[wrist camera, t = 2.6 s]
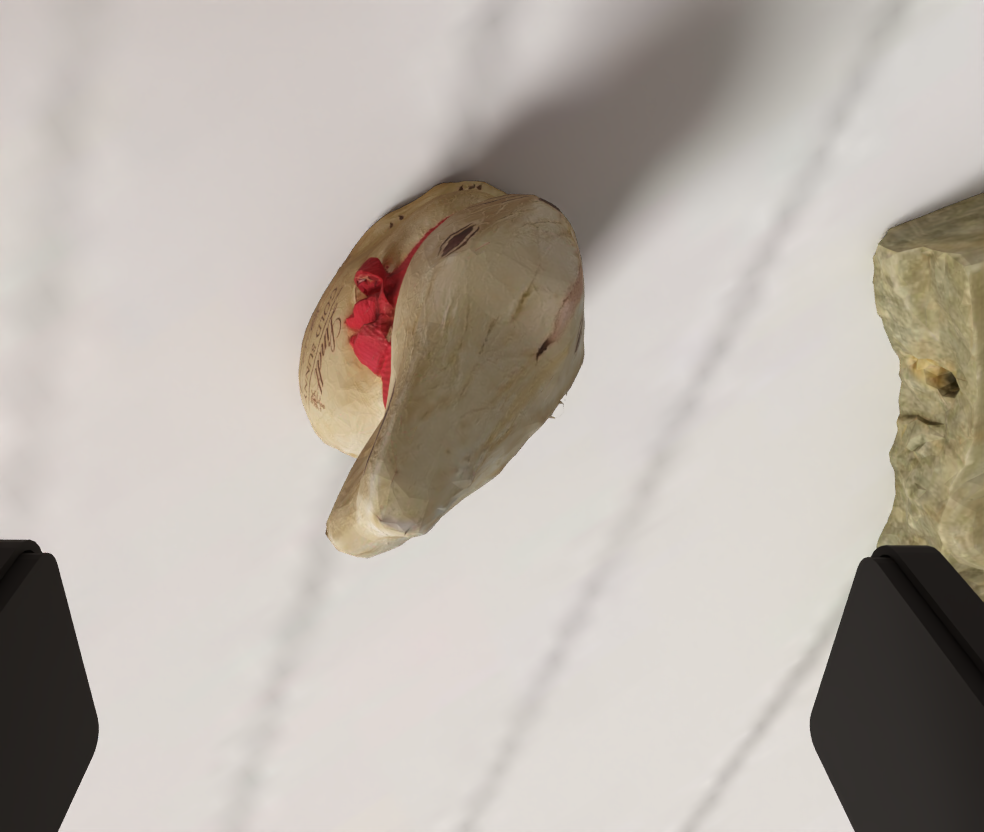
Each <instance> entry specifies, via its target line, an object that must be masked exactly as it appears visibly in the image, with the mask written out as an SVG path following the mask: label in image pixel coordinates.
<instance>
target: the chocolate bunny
mask: <svg viewBox="0 0 984 832" xmlns="http://www.w3.org/2000/svg"><path fill="white" fill-rule="evenodd" d="M584 327H585V321H584V277H583V269H582V261H581V255H580V251H579V248H578V244H577V240H576V236H575V232H574V230H573V228H572V226H571V224H570V223H569V222H568V220H567V219H566V218H565V216H564V215H563V214H562V213H561V211H560V210H559V209H558V208H557V207H556V206H555V205H553V204H551V203H549V202H547V201H546V200H543V199H541V198H539V197H537V196H535V195H523V194H506V193H505V192H503V191H501V190H499V189H497V188H495V187H493V186H491V185H489V184H487V183H485V182H479V181H462V182H458V183H452V182H449V183H441V184H439V185H436V186H434V187H433V188H432V189H430V190H429V191H428V192H427V193H425V194H424V195H422V196H421V197H419V198H418V199H417V200H415V201H413V202H411V203H409V204H407V205H405V206H403V207H402V208H400V209H397V210H395V211H393V212H390V213H388V214H387V215H385V216H384V217H382V218H381V219H380V220H379V221H377V222H376V223H375V224H374V225H373V226H372V227H371V228H370V229H369V230H368V231H366V233H365V234H364V235H363V236H362V238H361V239H360V240H359V241H358V243H357V244H356V245H355V247H354V248H353V249H352V251H351V253H350V254H349V256H348V257H347V259H346V260H345V262H344V263H343V264H342V266H341V267H340V268H339V270H338V271H337V273H336V275H335V276H334V278H333V279H332V281H331V282H330V284H329V286H328V287H327V289H326V290H325V292H324V294H323V295H322V297H321V299H320V301H319V303H318V305H317V307H316V308H315V310H314V312H313V314H312V316H311V319H310V321H309V323H308V326H307V328H306V331H305V335H304V338H303V342H302V348H301V356H300V364H299V386H300V394H301V398H302V403H303V406H304V408H305V411H306V413H307V415H308V418H309V420H310V422H311V425H312V427H313V429H314V431H315V433H316V434H317V435H318V436H319V438H320V439H321V440H322V441H323V442H324V443H325V444H327V445H329V446H331V447H333V448H337V449H338V450H340V451H341V452H343V453H345V454H347V455H349V456H352V457H354V458H357V460H356V462H355V463H354V465H353V467H352V469H351V471H350V472H349V475H348V477H347V479H346V481H345V483H344V485H343V487H342V489H341V491H340V493H339V495H338V497H337V500H336V502H335V504H334V507H333V509H332V511H331V514H330V516H329V518H328V521H327V523H326V526H327V529H326V535H327V537H328V538H329V540H330V541H331V542H332V544H333V545H334V546H335V548H336V549H337V550H338V551H340V552H343V553H346V554H349V555H353V556H356V557H362V558H370V557H372V556H375V555H378V554H381V553H383V552H386V551H389V550H391V549H394V548H396V547H398V546H400V545H402V544H403V543H404V542H406V541H407V540H409V539H410V538H412V537H417V536H421V535H424V534H426V533H427V532H428V531H429V530H431V529H432V528H433V526H434V525H435V524H436V523H437V522H438V521H439V519H440V518H441V517H442V516H443V515H445V514H446V513H447V512H448V511H449V510H451V509H452V508H453V507H454V506H455V505H457V504H458V503H459V502H460V501H461V500H463V499H464V498H466V497H467V496H469V495H470V494H471V493H473V492H474V491H476V490H477V489H479V488H480V487H482V486H483V485H485V484H486V483H488V482H489V481H490V480H492V479H493V478H494V477H496V476H497V475H498V474H499V473H500V472H501V471H502V469H503V468H504V467H505V466H506V464H507V463H508V462H509V461H510V460H511V459H512V458H513V457H514V456H515V455H516V454H517V452H518V451H519V450H520V449H521V447H522V446H523V445H524V444H525V442H526V441H527V440H528V439H529V438H530V437H531V436H532V435H533V434H534V433H535V432H536V431H537V430H538V429H539V428H540V427H541V426H542V425H543V424H544V423H545V421H546V420H547V419H548V418H553V419H554V418H555V417H552V416H551V415H552V413H553V412H554V410H555V408H556V407H557V406H558V404H559V403H562V402H561V401H560V400H561V399H562V397H563V396H564V395H565V394H566V396H567V392H568V391H569V389H570V388H571V386H572V384H573V382H574V380H575V378H576V376H577V374H578V372H579V370H580V368H581V365H582V363H583V359H584ZM565 400H566V399H565ZM563 407H564V405H563ZM327 530H328V533H327Z"/></svg>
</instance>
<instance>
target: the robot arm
mask: <svg viewBox="0 0 984 832" xmlns="http://www.w3.org/2000/svg"><path fill="white" fill-rule="evenodd" d="M810 732H811V738H812V742H813V745H814V747H815V750H816V752H817V754H818V756H819V758H820V760H821V762H822V764H823V766H824V768H825V771H826V773H827V775H828V777H829V779H830V781H831V783H832V785H833V787H834V789H835V791H836V793H837V796H838V798H839V800H840V802H841V804H842V806H843V808H844V810H845V812H846V814H847V816H848V818H849V821H850V823H851V825H852V827H853V829H854V831H855V832H984V602H983V601H982V600H981V599H980V597H979V596H978V595H977V594H976V593H975V592H974V590H973V589H972V588H971V587H970V586H969V585H968V584H967V582H966V581H965V580H964V579H963V578H962V577H961V576H960V574H959V573H958V572H957V571H956V570H955V569H954V567H953V566H952V565H951V564H950V563H949V562H948V561H947V559H946V558H945V557H944V556H943V555H942V554H941V553H940V552H939V551H938V550H937V549H936V548H934V547H931V546H928V545H883V546H879V547H878V548H877V549H876V550H875V551H874V552H873V554H872V556H871V557H867V558H864V559H863V560H862V561H861V562H860V564H859V566H858V568H857V572H856V575H855V578H854V581H853V584H852V587H851V590H850V593H849V597H848V600H847V603H846V606H845V609H844V612H843V615H842V619H841V622H840V625H839V628H838V631H837V634H836V637H835V641H834V644H833V647H832V650H831V653H830V656H829V659H828V662H827V666H826V669H825V672H824V675H823V678H822V681H821V684H820V688H819V691H818V694H817V697H816V700H815V703H814V706H813V709H812V713H811V717H810ZM98 733H99V724H98V718H97V714H96V710H95V706H94V702H93V698H92V695H91V691H90V687H89V683H88V679H87V675H86V672H85V668H84V664H83V660H82V656H81V653H80V649H79V645H78V641H77V637H76V633H75V630H74V626H73V622H72V618H71V614H70V610H69V607H68V603H67V599H66V595H65V591H64V587H63V584H62V580H61V576H60V572H59V568H58V564H57V562H56V559H55V557H54V556H53V555H52V554H49V553H42V551H41V549H40V547H39V546H38V544H37V543H36V542H35V541H31V540H0V832H58V830H59V828H60V826H61V824H62V822H63V819H64V817H65V815H66V813H67V811H68V809H69V806H70V804H71V802H72V800H73V798H74V796H75V794H76V791H77V789H78V787H79V785H80V783H81V781H82V778H83V776H84V774H85V772H86V770H87V768H88V765H89V763H90V761H91V759H92V757H93V754H94V752H95V749H96V745H97V741H98Z"/></svg>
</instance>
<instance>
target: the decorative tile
mask: <svg viewBox="0 0 984 832" xmlns="http://www.w3.org/2000/svg"><path fill="white" fill-rule="evenodd" d="M873 262H874V277H873V284H874V292H875V303H876V308H877V313H878V315H879V316H880V317H881V318H882V321H883V325H884V329H885V331H886V333H887V336H888V338H889V341H890V343H891V345H892V348H893V350H894V351H895V353H896V354H897V355H898V357H899V360H900V371H899V376H900V378H901V381H902V383H901V389H900V395H899V409H900V415H899V417H898V420H897V427H898V432H897V435H896V438H895V441H894V444H893V446H892V448H891V450H890V452H889V457H890V462H891V464H892V467H893V469H894V471H895V490H896V495H895V500H894V504H893V509H892V511H891V514H890V516H889V518H888V522H887V524H886V525H885V527H884V529H883V531H882V533H881V535H880V538H879V540H878V543H877V548H878V547H879V546H883V545H928V546H931V547H934V548H936V549H937V550H938V551H939V552H940V553H941V554H942V555H943V556H944V557H945V558H946V559H947V561H948V562H949V563H950V564H951V565H952V566H953V567H954V569H955V570H956V571H957V572H958V573H959V574H960V576H961V577H962V578H963V579H964V580H965V581H966V582H967V584H968V585H969V586H970V587H971V588H972V589H973V590H974V592H975V593H976V594H977V595H978V596H979V597H980V599H981V600H982V601H983V602H984V193H981V194H979V195H976V196H973V197H971V198H968V199H965V200H963V201H960V202H958V203H955V204H952V205H949V206H947V207H944V208H942V209H939V210H937V211H934V212H932V213H929V214H927V215H924V216H922V217H919V218H916V219H914V220H911V221H909V222H906V223H903V224H900V225H898V226H895V227H893V228H890V229H889V231H888V233H887V234H886V236H885V237H884V238H883V239H882V240H881V241H880V242H879V244H878V247H877V251H876V253H875V255H874V257H873Z"/></svg>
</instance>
